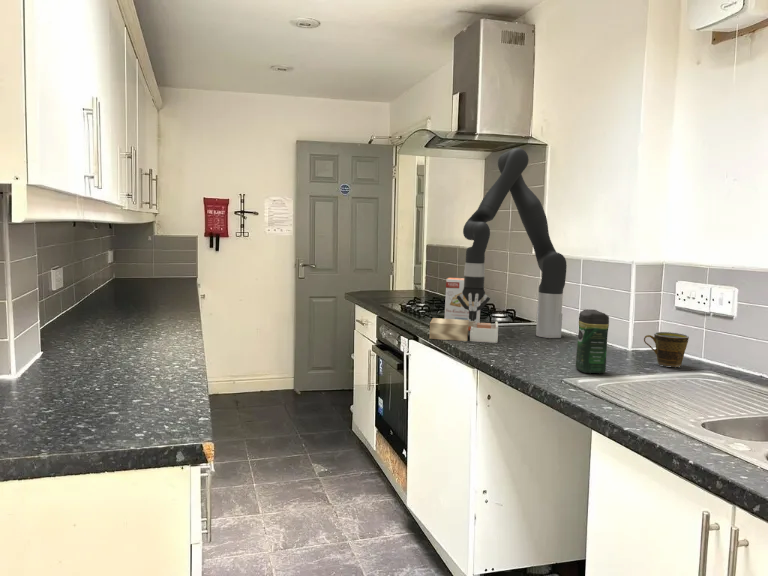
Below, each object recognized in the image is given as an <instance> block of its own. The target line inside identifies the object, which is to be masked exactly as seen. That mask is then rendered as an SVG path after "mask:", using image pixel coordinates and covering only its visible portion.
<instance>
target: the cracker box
mask: <svg viewBox="0 0 768 576" xmlns="http://www.w3.org/2000/svg"><path fill="white" fill-rule="evenodd" d="M445 281H446V283H445V302H444V318H443V319H459V320H469V327H468V332H470V331H471V327H473V323H481V322H480V320H481V319H480V317H481V310H478V311H477V317H476V320H474V321H473V320H472V321H471V319H469V310H467V309H465V308H464V307H463V306H462V304H461V303H460V301H459V300H458V299H457V296H458V295H460V294H461V293H462V291H463V289H464V277H462V278H461V277H447V278H446V279H445ZM463 297H464V295H463ZM463 300H464V302H465V303H466V305H467V306H469V301H467V300H466V298H465V297H464V298H463ZM481 300H482V299H481ZM481 300H480V301H479V302H478V304H477V307H478V306H480V305H481V303H482V302H481ZM472 311H474V302H472Z"/></svg>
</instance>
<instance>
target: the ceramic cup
mask: <svg viewBox="0 0 768 576" xmlns="http://www.w3.org/2000/svg"><path fill="white" fill-rule="evenodd" d="M653 335H654V336H653ZM653 335H649V334H647V335H645V336H644V338H643V342H644V343H645V345H647V346H648V347H649V348H650V349H651V350H652V351H653V352H654V354H655V355H656V362H657V365H658V364H659V365H663V366H671V367H679V366H681V367H682V364H683V361H684V356H685V353H686V350H687V347H688V343H689V339H690V337H689V335H687V334H684V333H680V332H679V333H678V332H670V331H668V332H667V331H659V332H654V333H653ZM646 338H651V340H653V342H654V344H655V349H654V348H653V347H652V346H651V345H650V344H649V343H648V342H647V341H646ZM659 365H658V366H659Z"/></svg>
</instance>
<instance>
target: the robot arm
mask: <svg viewBox="0 0 768 576" xmlns="http://www.w3.org/2000/svg"><path fill="white" fill-rule="evenodd" d="M528 164H529V155H528V153H527V151H526V150H524V148H521V147H515V148H512V149H510V150H507V151H506V152H503V153H501V154H500V156H499V157H498V160H497V167H498V170H499V172H500V175H499V176H498V179H496V180H495V182H494V183H493V185H491V187H490V188H489V189H488V191H487V192H486V193H485V194H484V197H483V198H482V200H481V202H480V204H479V205H478V207H477V209H476V211H475V212H473V214H471V216H470V217H469V218H468V219H467V221H466V222H465V224H464V226H463V230H462V234H463V236H464V238H465V239H466V240H468V241H473V243H472V245H471V246H470V247H468V248H467V249H466V250H465V263H464V272H463V275H464V277H463V278H464V289H463V291H462V293H461V294H460V295H458V296H457V299H458V300H459V301H460V303H461V304H462V306H463V307H464V308H465V309H467V310H469V319H471V321H472V320H473V321H474V320H476V317H477V311H478V310H480V311H481V310H482V309H483V308H484V307H485V306H486V305H487V303H489V301H491V297H490V296H488V295H487V294H486V291H485V278H486V277H485V275H486V273H485V272H486V269H485V268H486V267H485V263H486V262H485V260H486V250H487V247H488V244H489V240H490V236H491V229H490V226H489V224H488V222H490V221H493V219H495V217H496V215H497V214H498V212H499V209H500V208H501V206H502V204H503V203H504V200H505V199H506V197H507V195H508V193H509V192H510V195H511V197H512V199H513V203H514V204H515V208H516V210H517V212H518V214H519V217H520V220H521V222H522V225H523V227H524V229H525V232H526V235H527V236H528V239H529V240H530V242H531V245H532V247H533V251H534V254H535V258H536V262H537V265H538V268H539V270H540V271H541V282H540V283H539V285H538V295H537V312H536V313H537V316H536V326H535V327H536V328H535V331H536V332H535V333H536V334H535V335H536V336H537V337H540V338H547V339H560V338H562V326H563V297H564V294H563V293H564V288H565V285H566V281H567V280H566V279H567V278H566V277H567V267H568V266H567V260H566V257H565V256H564V255H563V254H562V253H560V252H557V251H556V249H555V247H554V245H553V242H552V240H551V237H550V234H549V233H550V232H549V224H548V219H547V215H546V212H545V210H544V207H543V205H542V202H541V200H540V199H539V197H538V196H537V195H536V194H535V193H534V192H533V191H532V190H531V189H530V188H529V186H527V184H526V181H525V180H524V177H523V175H522V173H524V171H525V170H526V169H527V167H528V166H529V165H528ZM463 295H464V297H465V298H466V300H467V301H469V306H467V305H466V303H465V302H464V300H463V298H464V297H463ZM482 299H483V301H482V302H481V304H480V306H478V307H477V304H478V302H479V301H480V300H482ZM472 302H474V311H472Z"/></svg>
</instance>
